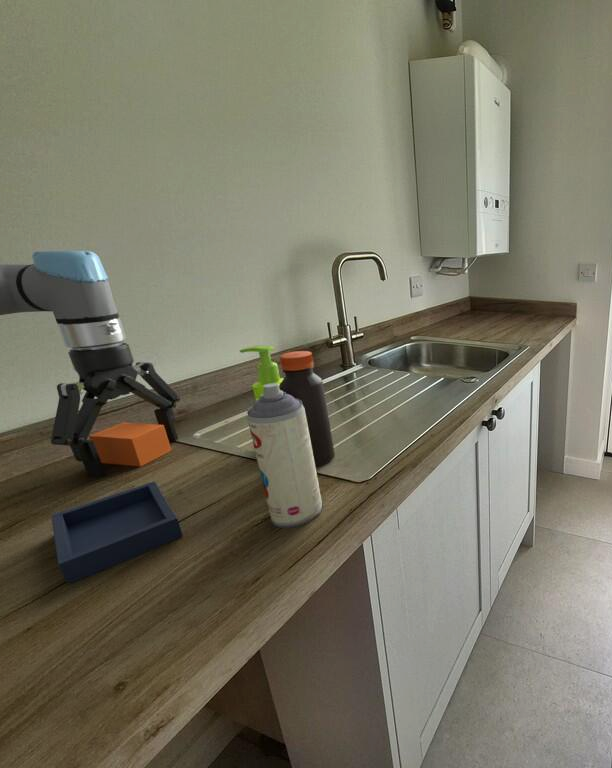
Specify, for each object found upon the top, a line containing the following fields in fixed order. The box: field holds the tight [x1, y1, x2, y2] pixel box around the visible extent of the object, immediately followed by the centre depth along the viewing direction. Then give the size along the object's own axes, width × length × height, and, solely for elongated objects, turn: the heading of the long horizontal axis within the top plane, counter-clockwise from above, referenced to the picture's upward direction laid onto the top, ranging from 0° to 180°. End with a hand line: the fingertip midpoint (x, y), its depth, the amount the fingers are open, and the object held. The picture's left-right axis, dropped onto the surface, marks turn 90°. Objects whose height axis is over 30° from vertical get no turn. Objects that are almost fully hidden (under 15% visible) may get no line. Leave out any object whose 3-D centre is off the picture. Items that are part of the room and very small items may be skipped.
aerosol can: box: [246, 383, 324, 529], centre depth 57 cm, size 7×7×20 cm
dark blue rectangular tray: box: [50, 480, 184, 586], centre depth 55 cm, size 14×11×3 cm
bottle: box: [279, 350, 335, 467], centre depth 72 cm, size 7×7×20 cm
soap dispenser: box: [239, 345, 285, 402], centre depth 77 cm, size 6×7×20 cm
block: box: [88, 421, 172, 467], centre depth 76 cm, size 9×6×6 cm, turn 81°
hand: (137, 455), depth 77 cm, fingers open, 13 cm apart
